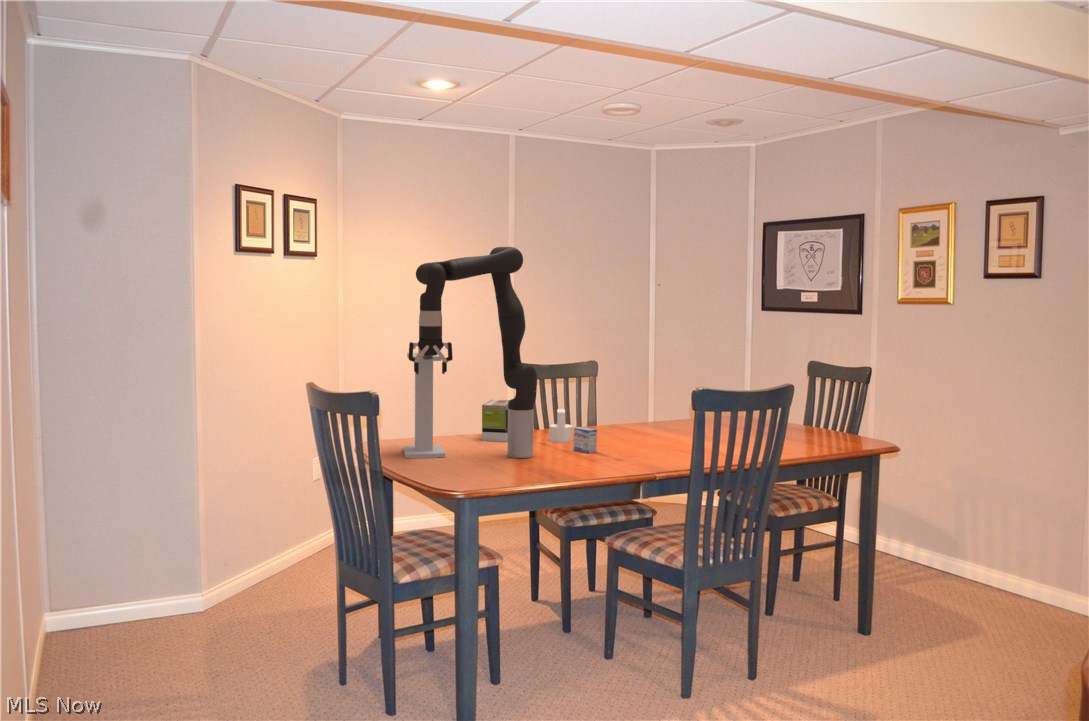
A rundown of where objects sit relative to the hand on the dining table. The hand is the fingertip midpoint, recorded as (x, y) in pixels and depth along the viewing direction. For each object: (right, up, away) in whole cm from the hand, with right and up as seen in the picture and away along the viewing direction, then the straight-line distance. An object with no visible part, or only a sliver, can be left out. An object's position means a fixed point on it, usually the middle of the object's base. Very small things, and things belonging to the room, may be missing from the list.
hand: (430, 373), depth 285 cm
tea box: (+19, -27, +62) cm, 70 cm away
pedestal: (-6, -29, +29) cm, 42 cm away
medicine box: (+53, -30, +39) cm, 72 cm away
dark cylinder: (-4, +6, +20) cm, 22 cm away
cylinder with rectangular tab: (+44, -28, +59) cm, 79 cm away
